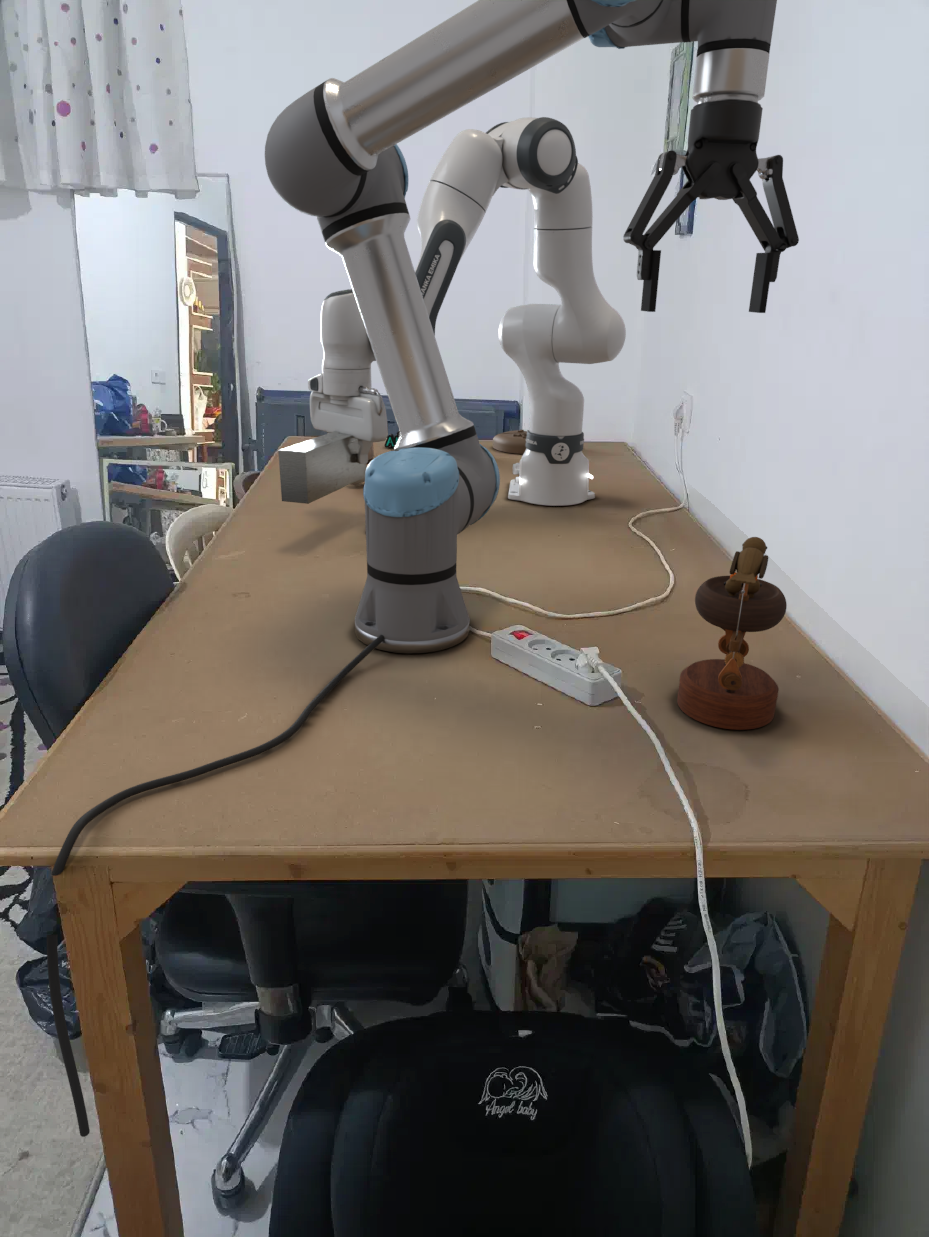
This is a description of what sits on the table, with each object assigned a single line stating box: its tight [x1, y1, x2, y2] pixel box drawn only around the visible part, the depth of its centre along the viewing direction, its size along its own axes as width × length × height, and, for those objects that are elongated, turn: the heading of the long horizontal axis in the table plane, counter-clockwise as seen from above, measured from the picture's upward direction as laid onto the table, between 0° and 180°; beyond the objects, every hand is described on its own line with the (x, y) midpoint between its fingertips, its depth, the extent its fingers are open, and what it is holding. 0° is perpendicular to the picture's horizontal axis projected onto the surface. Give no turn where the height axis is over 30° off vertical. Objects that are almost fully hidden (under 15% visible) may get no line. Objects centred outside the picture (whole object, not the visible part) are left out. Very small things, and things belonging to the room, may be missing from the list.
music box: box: [676, 536, 788, 731], centre depth 91 cm, size 15×11×20 cm
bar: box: [277, 431, 367, 505], centre depth 151 cm, size 23×5×9 cm, turn 161°
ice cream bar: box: [492, 428, 529, 455], centre depth 225 cm, size 21×28×4 cm
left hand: (702, 312), depth 100 cm, fingers open, 13 cm apart
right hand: (349, 459), depth 159 cm, fingers closed on bar, 6 cm apart
